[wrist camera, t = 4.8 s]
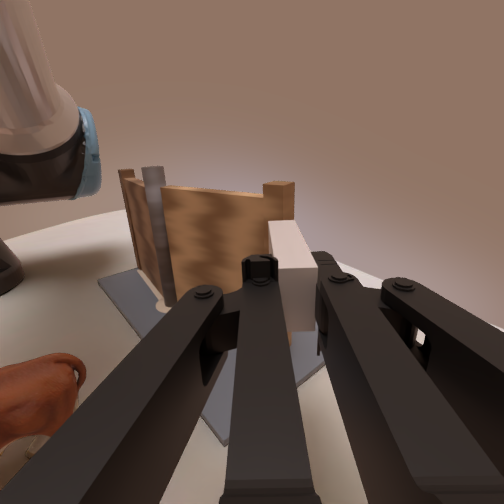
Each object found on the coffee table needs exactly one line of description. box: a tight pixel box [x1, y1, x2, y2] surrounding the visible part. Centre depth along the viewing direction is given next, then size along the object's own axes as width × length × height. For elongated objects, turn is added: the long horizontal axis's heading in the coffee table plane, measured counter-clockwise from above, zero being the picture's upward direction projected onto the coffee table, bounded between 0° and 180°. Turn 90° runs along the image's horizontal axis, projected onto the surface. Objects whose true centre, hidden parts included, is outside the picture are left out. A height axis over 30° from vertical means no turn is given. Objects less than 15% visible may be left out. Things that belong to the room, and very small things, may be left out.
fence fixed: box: [118, 166, 177, 307], centre depth 35 cm, size 14×2×16 cm, turn 35°
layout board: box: [97, 268, 325, 446], centre depth 35 cm, size 30×22×1 cm
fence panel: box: [160, 181, 295, 346], centre depth 26 cm, size 13×2×14 cm, turn 55°
